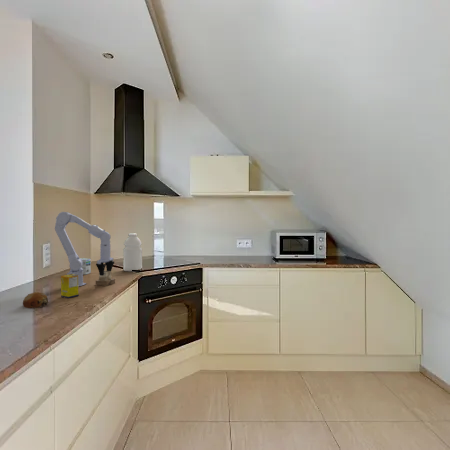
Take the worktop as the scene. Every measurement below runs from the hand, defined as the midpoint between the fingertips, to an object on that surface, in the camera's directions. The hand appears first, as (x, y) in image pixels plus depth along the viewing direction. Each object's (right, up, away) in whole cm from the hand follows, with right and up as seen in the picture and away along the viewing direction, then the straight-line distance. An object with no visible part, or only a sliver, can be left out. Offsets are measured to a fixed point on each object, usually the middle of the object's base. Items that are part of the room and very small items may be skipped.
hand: (105, 274), depth 197 cm
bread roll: (-14, -7, -48) cm, 51 cm away
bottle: (+2, -5, +52) cm, 52 cm away
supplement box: (-7, -7, -31) cm, 33 cm away
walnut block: (0, -6, 0) cm, 6 cm away
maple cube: (0, -3, 0) cm, 3 cm away
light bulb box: (-30, -5, +34) cm, 45 cm away
